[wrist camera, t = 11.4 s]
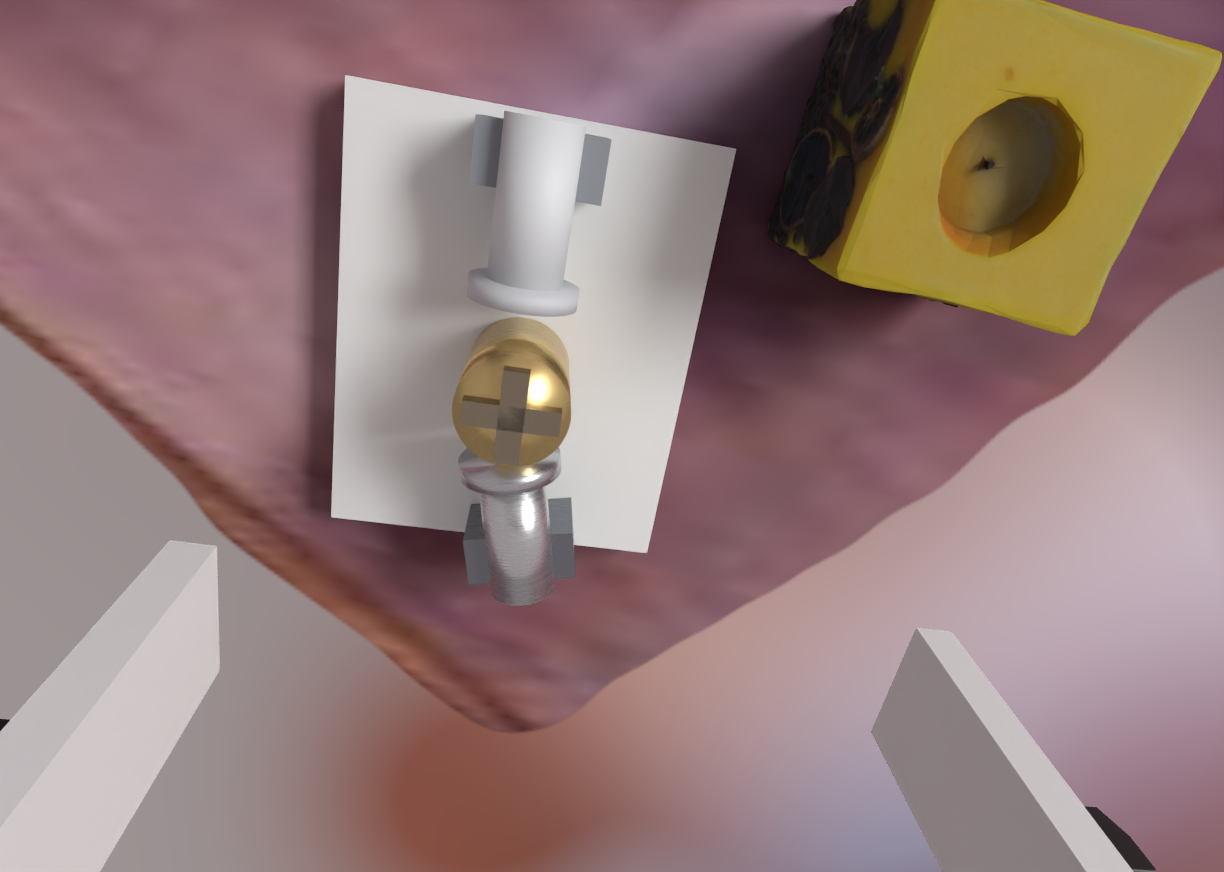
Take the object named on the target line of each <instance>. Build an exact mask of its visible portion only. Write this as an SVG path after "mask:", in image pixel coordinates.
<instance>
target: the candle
mask: <svg viewBox="0 0 1224 872" xmlns="http://www.w3.org/2000/svg"><path fill="white" fill-rule="evenodd" d="M833 28H834V34H833V36H832V38H831V41H830V44H829V48H828V50H827V52H826V54H825V56H824V58H823V59H822V68H821V74H820V76H819V78H818V80H817V83H816V85H815V88H814V92H813V96H812V97H811V98H810V99H809V100H808V103H807V108H806V112H805V115H804V119H803V122H802V126H801V130H800V135H799V137H798V140H797V143H796V147H795V150H794V154H793V156H792V158H791V161H790V166H789V167H788V169H787V170H786V172H785V174H784V186H783V190H782V192H781V194H780V196H779V198H778V201H777V203H776V207H775V212H774V214H773V215H772V217H771V219H770V220H769V222H768V236H769V239H771V240H772V241H774V242H776V243H778V244H779V246H783V247H785V248H787V249H789V250H791V251H793V252H798V253H799V254H800V255H803V256H807V260H809V262H811V263H812V264H813V265H815V266H816V267H818V268H819V269H820V270H822V271H824V272H826V273H827V274H829V275H831V276H833V277H834V278H836V279H838V280H840V281H844V282H847V283H851V284H855V285H858V286H862V287H866V288H872V289H878V290H884V291H890V292H898V293H909V294H914V295H917V296H919V297H922V298H925V299H928V300H931V301H939V302H942V303H944V304H946V305H950V306H954V307H958V306H961V307H965V308H970V309H974V310H978V311H983V312H987V313H991V314H996V315H1000V316H1004V317H1007V318H1010V319H1013V320H1016V321H1019V322H1022V323H1025V324H1028V325H1031V326H1034V327H1038V328H1042V329H1045V330H1049V331H1052V332H1056V333H1059V334H1065V335H1071V336H1075V335H1076V334H1077V333H1078V332H1079V331H1080V330H1081V329H1082V328H1084V327H1085V326H1086V325H1087V324H1088V323H1089V320H1090V318H1091V315H1092V313H1093V310H1094V308H1095V305H1096V303H1097V300H1098V298H1099V295H1100V293H1101V290H1102V288H1103V286H1104V283H1105V281H1106V278H1107V276H1108V273H1109V271H1110V268H1111V267H1112V265H1113V263H1114V262H1115V260H1116V258H1117V257H1118V255H1119V253H1120V252H1121V250H1122V248H1123V247H1124V245H1125V243H1126V241H1127V239H1128V237H1129V235H1130V233H1131V231H1132V229H1133V227H1134V225H1135V222H1136V220H1137V218H1138V216H1139V214H1140V212H1141V211H1142V209H1143V207H1144V205H1145V203H1146V201H1147V199H1148V197H1149V195H1150V193H1151V191H1152V189H1153V187H1154V186H1155V184H1156V182H1157V180H1158V178H1159V176H1160V174H1161V172H1162V171H1163V169H1164V167H1165V165H1166V164H1167V162H1168V160H1169V158H1170V157H1171V155H1172V153H1173V151H1174V150H1175V148H1176V146H1177V144H1178V143H1179V141H1180V139H1181V137H1182V135H1183V134H1184V132H1185V130H1186V128H1187V126H1188V124H1189V122H1190V121H1191V119H1192V117H1193V115H1194V113H1195V111H1196V109H1197V107H1198V105H1199V103H1200V102H1201V100H1202V98H1203V96H1204V94H1205V93H1206V91H1207V89H1208V87H1209V86H1210V84H1211V82H1212V80H1213V78H1214V77H1215V75H1216V73H1217V71H1218V70H1219V67H1220V63H1221V59H1222V54H1221V52H1220V51H1217V50H1214V49H1211V48H1208V47H1205V46H1202V45H1200V44H1196V43H1191V42H1187V41H1182V40H1178V39H1174V38H1171V37H1167V36H1164V35H1160V34H1157V33H1154V32H1150V31H1147V30H1143V29H1139V28H1135V27H1130V26H1126V25H1121V24H1118V23H1114V22H1111V21H1108V20H1104V19H1101V18H1098V17H1094V16H1091V15H1087V14H1084V13H1081V12H1077V11H1074V10H1071V9H1068V8H1065V7H1061V6H1058V5H1055V4H1052V3H1048V2H1045V1H1042V0H856V2H855V4H854V6H852V7H851V6H849V7H846V8H844V9H843V11H842V12H841V13H840V15H839V16H838V17H837V19H836V20H835V21H834V23H833Z"/></svg>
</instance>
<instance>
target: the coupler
mask: <svg viewBox="0 0 1224 872" xmlns="http://www.w3.org/2000/svg"><path fill="white" fill-rule="evenodd" d="M452 418H453V423H454V427H455V429H456V432H457V434H458V436H459V437H460V439H461V441H462V442H463V443H464V444H465V446H466V447H467V448H468V449H469V450H470V451H471V452H473V453H474V454H475V455H476V456H478V457H480V458H481V459H483V460H485V461H487V462H490V463H492V464H496V465H500V466H505V467H521V466H527V465H531V464H534V463H536V462H539V461H541V460H543V459H545V458H546V457H548V456H549V455H550V454H552V453H553V452H554V451H555V450H556V449H557V448H558V447H559V446H560V444H561V443H562V442H563V440H564V438H565V437H566V435H567V432H568V430H569V426H570V422H571V397H570V373H569V358H568V354H567V351H566V348H565V346H564V344H563V342H562V341H561V339H560V338H559V336H558V335H557V334H556V333H555V332H554V331H553V330H552V329H551V328H549V327H548V326H546V325H545V324H543V323H541V322H539V321H536V320H533V319H529V318H524V317H511V318H506V319H502V320H499V321H497V322H495V323H493V324H491V325H490V326H488V327H487V328H486V329H485V330H483V331H482V332H481V334H480V335H479V336H478V337H477V339H476V340H475V342H474V344H473V346H472V349H471V351H470V354H469V357H468V359H467V362H466V365H465V367H464V370H463V373H462V375H461V378H460V381H459V383H458V386H457V389H456V391H455V394H454V398H453V403H452Z"/></svg>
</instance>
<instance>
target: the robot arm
mask: <svg viewBox="0 0 1224 872" xmlns="http://www.w3.org/2000/svg"><path fill="white" fill-rule="evenodd" d="M217 574H218V573H217V546H215V545H206V544H198V543H197V544H196V543H189V542H181V541H171V540H170V541H169V542H168V543H167V544H166V545H165V546H164V547H163V548H162V550H161V551H160V552H159V553H158V554H157V555H156V556H155V558H154V559H153V560H152V561H151V562H150V563H149V564H148V565H147V567H146V568H145V569H144V570H143V571H142V572H141V573H140V574H139V576H138V577H137V578H136V579H135V580H134V581H133V582H132V583H131V585H130V586H129V587H128V588H127V589H126V590H125V591H124V592H123V594H122V595H121V596H120V597H119V598H118V599H117V600H116V601H115V603H114V604H113V605H112V606H111V607H110V608H109V609H108V611H107V612H106V613H105V614H104V615H103V616H102V617H101V619H100V620H99V621H98V622H97V623H96V624H95V625H94V626H93V627H92V629H91V630H90V631H89V632H88V633H87V634H86V635H85V637H84V638H83V639H82V640H81V641H80V642H79V643H78V644H77V645H76V647H75V648H74V649H73V650H72V651H71V652H70V653H69V654H68V656H67V657H66V658H65V659H64V660H63V661H62V662H61V664H60V665H59V666H58V667H57V668H56V669H55V670H54V671H53V673H52V674H51V675H50V676H49V677H48V678H47V679H46V680H45V682H44V683H43V684H42V685H41V686H40V687H39V688H38V690H37V691H36V692H35V693H34V694H33V695H32V696H31V697H30V699H29V700H28V701H27V702H26V703H25V704H24V705H23V706H22V708H21V709H20V710H19V711H18V712H17V713H16V714H15V715H14V716H13V718H12V719H11V720H6V719H0V872H100V871H101V869H102V867H103V866H104V864H105V862H106V861H107V859H108V857H109V856H110V854H111V852H112V850H113V849H114V847H115V845H116V843H117V842H118V840H119V839H120V837H121V835H122V834H123V832H124V830H125V829H126V827H127V825H128V824H129V822H130V820H131V819H132V817H133V815H134V813H135V812H136V810H137V808H138V807H139V805H140V803H141V801H142V800H143V798H144V797H145V795H146V793H147V792H148V790H149V788H150V787H151V785H152V783H153V781H154V780H155V778H156V776H157V775H158V773H159V771H160V770H161V768H162V766H163V764H164V763H165V761H166V759H167V758H168V756H169V754H170V753H171V751H172V749H173V748H174V746H175V744H176V743H177V741H178V739H179V738H180V736H181V734H182V733H183V731H184V729H185V728H186V726H187V724H188V723H189V721H190V719H191V717H192V716H193V714H194V712H195V711H196V709H197V707H198V706H199V704H200V702H201V701H202V699H203V697H204V696H205V694H206V692H207V691H208V689H209V687H210V686H211V684H212V682H213V680H214V679H215V677H216V675H217V674H218V672H219V670H220V668H219V667H220V664H219V621H218V620H219V617H218V576H217ZM871 732H872V734H873V736H874V738H875V740H876V742H877V744H878V746H879V748H880V750H881V752H882V754H883V756H884V758H885V760H886V762H887V764H888V766H889V768H890V770H891V772H892V774H893V776H894V778H895V779H896V781H897V784H898V786H899V788H900V790H901V792H902V794H903V795H904V797H905V799H906V801H907V803H908V805H909V807H910V809H911V811H912V813H913V815H914V817H915V819H916V821H917V823H918V825H919V827H920V829H921V831H922V833H923V835H924V837H925V839H926V841H927V843H928V845H929V846H930V849H931V851H932V853H933V855H934V857H935V859H936V860H937V862H938V864H939V866H940V868H941V870H942V872H1155V870H1156V869H1155V868H1154V866H1153V865H1152V864H1151V863H1150V861H1149V860H1148V859H1147V858H1146V857H1145V855H1144V854H1143V853H1142V851H1141V850H1140V849H1139V847H1138V846H1137V845H1136V844H1135V843H1134V841H1133V840H1132V839H1131V837H1130V836H1129V835H1127V834H1126V833H1125V832H1124V831H1123V830H1122V829H1121V828H1119V827H1118V826H1117V825H1116V824H1115V823H1114V822H1113V821H1111V820H1110V819H1109V818H1108V817H1107V816H1106V815H1104V814H1103V813H1102V812H1101V811H1100V810H1099V809H1098V808H1097V807H1085V806H1083V804H1082V803H1081V802H1080V800H1079V799H1078V798H1077V796H1076V795H1075V794H1074V793H1073V791H1072V790H1071V788H1070V787H1069V786H1068V784H1067V783H1066V782H1065V781H1064V779H1063V778H1062V777H1061V775H1060V774H1059V773H1058V771H1057V770H1056V769H1055V767H1054V766H1053V765H1052V763H1051V762H1050V761H1049V759H1048V758H1047V757H1046V755H1045V754H1044V753H1043V752H1042V750H1041V749H1040V748H1039V746H1038V745H1037V744H1036V742H1035V741H1034V740H1033V738H1032V737H1031V736H1030V734H1029V733H1028V732H1027V730H1026V729H1025V728H1024V727H1023V725H1022V724H1021V722H1020V721H1019V720H1018V719H1017V717H1016V716H1015V715H1014V713H1013V712H1012V711H1011V709H1010V708H1009V707H1008V705H1007V704H1006V703H1005V701H1004V700H1003V699H1002V697H1001V696H1000V695H999V693H998V692H997V691H996V689H995V688H994V687H993V686H992V684H991V683H990V682H989V680H988V679H987V678H986V676H985V675H984V674H983V672H982V671H981V670H980V668H979V667H978V666H977V664H976V663H975V662H974V660H973V659H972V658H971V656H970V655H969V654H968V653H967V651H966V650H965V649H964V648H963V646H962V645H961V643H960V642H959V641H958V639H957V638H956V637H955V635H954V634H953V633H952V632H950V631H941V630H932V629H924V628H916V630H915V632H914V634H913V637H912V639H911V641H910V643H909V646H908V648H907V650H906V653H905V655H904V657H903V659H902V662H901V664H900V666H899V669H898V671H897V673H896V676H895V678H894V680H893V682H892V685H891V687H890V689H889V692H888V694H887V697H886V699H885V701H884V703H883V706H882V708H881V710H880V712H879V715H878V717H877V719H876V722H875V724H874V726H873V729H872V731H871Z"/></svg>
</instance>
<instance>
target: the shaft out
mask: <svg viewBox="0 0 1224 872" xmlns="http://www.w3.org/2000/svg"><path fill="white" fill-rule="evenodd" d="M458 463H459V471H460V478H461V482H462V484H463V485H464V486H465V487H467V488H468V489H470V490H472V491H475V492H478V493H479V498H480V503H477V504H471V506H470V510H469V515H468V519H467V524H466V528H465V533H464V537H463V546H464V554H465V561H466V568H467V576H468V583H469V585H473V584H487V583H490V588H491V594H492V596H493V597H494V598H495V599H496V600H497V601H499V602H501V603H503V604H507V605H513V606H522V605H529V604H533V603H536V602H539V601H541V600H543V599H544V598H546V597H547V596H549V595H550V594H551V592H552V591H553V589H554V586H555V581H554V579H558V578H572V577H576V575H575V550H574V530H573V516H572V501H571V497H569V498H553V499H548V494H547V485H548V484H550V483H552V482H553V481H554V480H555V479H556V478H558V476H559V475H560V473H561V456H560V449H559V447H558V448H557V449H556V450H555V451H554V452H553V453H552V454H550V455H549V456H548V457H546V458H545V459H543V460H541V461H539V462H536V463H534V464H531V465H527V466H521V467H505V466H500V465H496V464H492V463H490V462H487V461H485V460H483V459H481V458H480V457H478V456H476V455H475V454H474V453H473V452H471V451H470V450H469V449H468V448H467V449H466V450H464V451H463V452H462V453H461V455H460V456H459V459H458Z"/></svg>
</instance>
